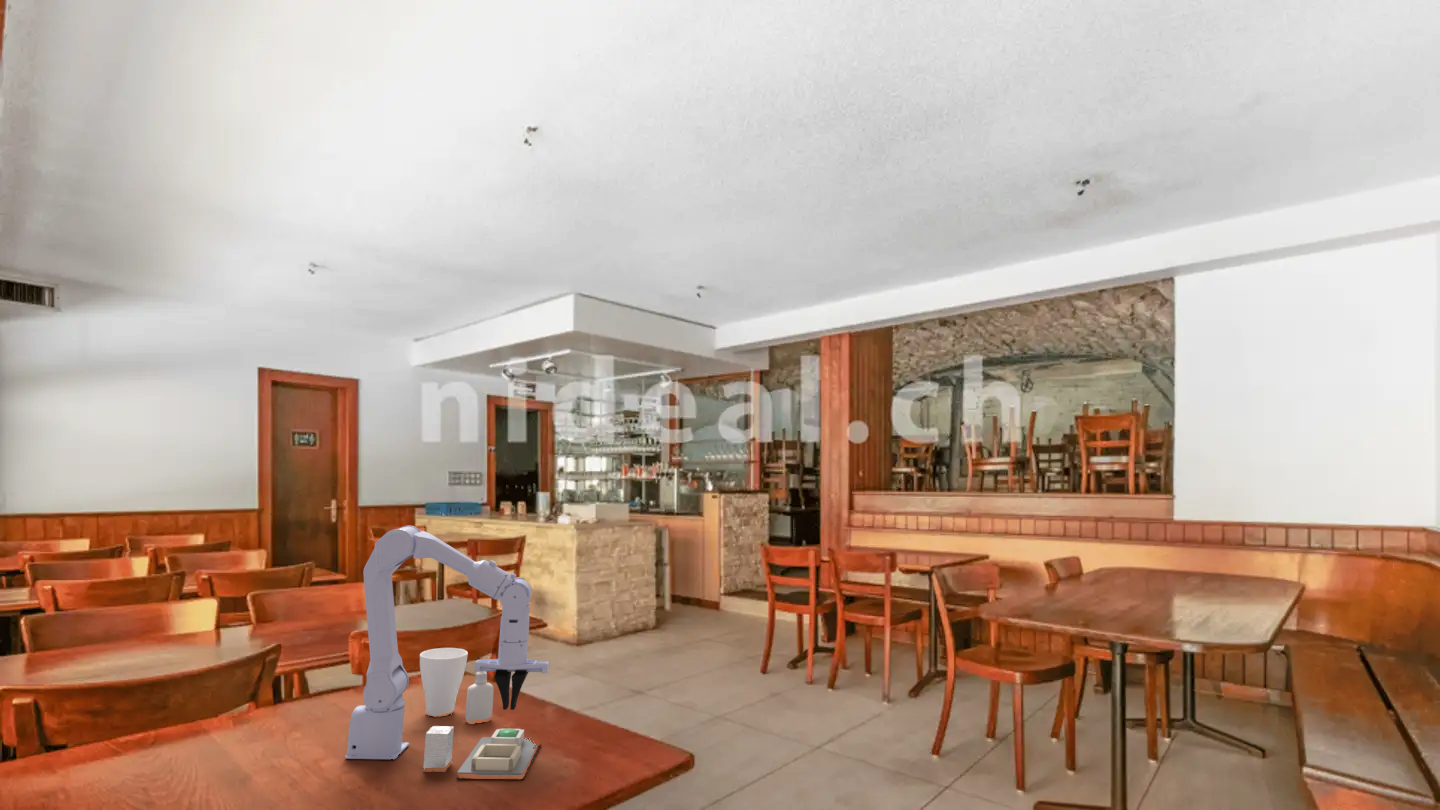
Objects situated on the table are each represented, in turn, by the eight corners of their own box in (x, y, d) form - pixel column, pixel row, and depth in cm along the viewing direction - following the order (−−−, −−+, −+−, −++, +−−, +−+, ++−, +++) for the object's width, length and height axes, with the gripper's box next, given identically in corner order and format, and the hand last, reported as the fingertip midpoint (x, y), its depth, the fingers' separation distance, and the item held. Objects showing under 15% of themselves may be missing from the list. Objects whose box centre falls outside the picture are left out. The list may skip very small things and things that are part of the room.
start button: (497, 746, 149) (498, 733, 150) (501, 740, 153) (501, 728, 153) (513, 746, 150) (514, 734, 150) (516, 740, 153) (517, 728, 153)
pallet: (456, 779, 137) (458, 759, 137) (481, 743, 155) (482, 726, 155) (523, 780, 137) (524, 761, 138) (540, 744, 155) (541, 727, 156)
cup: (405, 715, 170) (409, 654, 171) (441, 703, 179) (445, 645, 180) (437, 724, 165) (442, 661, 166) (473, 711, 174) (477, 652, 175)
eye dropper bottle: (468, 718, 169) (471, 663, 170) (493, 718, 170) (496, 664, 171) (463, 724, 165) (466, 669, 166) (488, 725, 165) (492, 669, 166)
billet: (423, 772, 139) (425, 733, 140) (430, 763, 143) (432, 726, 144) (444, 772, 140) (447, 733, 140) (451, 764, 144) (453, 726, 144)
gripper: (552, 636, 157) (548, 702, 156) (482, 634, 156) (478, 701, 155) (547, 644, 150) (542, 713, 149) (473, 642, 149) (469, 712, 148)
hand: (509, 708), depth 152 cm, fingers closed
